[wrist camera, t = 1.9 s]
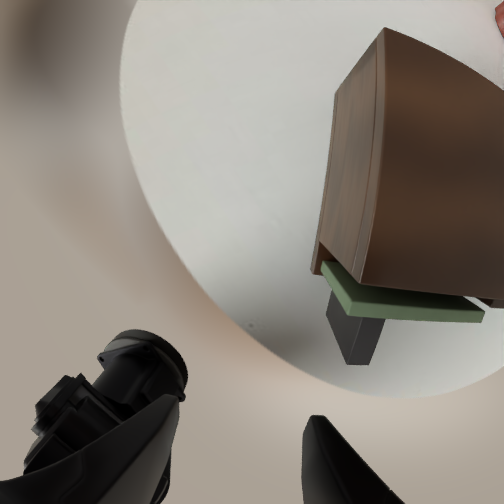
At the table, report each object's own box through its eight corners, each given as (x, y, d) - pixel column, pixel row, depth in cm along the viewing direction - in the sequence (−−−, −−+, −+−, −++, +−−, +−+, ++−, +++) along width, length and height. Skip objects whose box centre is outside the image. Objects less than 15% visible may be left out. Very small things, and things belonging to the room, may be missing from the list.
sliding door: (419, 318, 17) (463, 363, 11) (311, 308, 17) (330, 366, 11) (431, 276, 16) (485, 311, 10) (322, 259, 17) (351, 300, 10)
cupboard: (487, 292, 18) (549, 333, 9) (309, 269, 18) (342, 340, 9) (509, 163, 15) (579, 166, 6) (334, 92, 15) (383, 25, 7)
